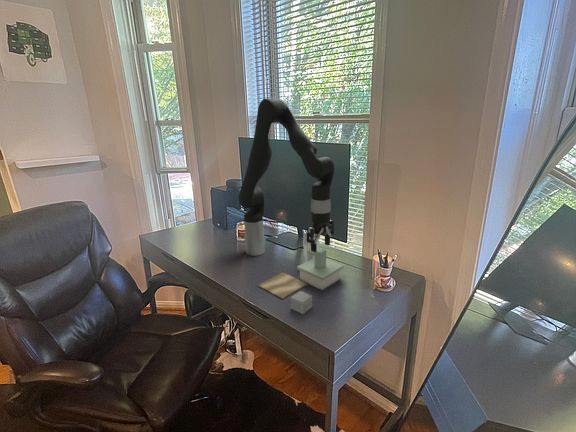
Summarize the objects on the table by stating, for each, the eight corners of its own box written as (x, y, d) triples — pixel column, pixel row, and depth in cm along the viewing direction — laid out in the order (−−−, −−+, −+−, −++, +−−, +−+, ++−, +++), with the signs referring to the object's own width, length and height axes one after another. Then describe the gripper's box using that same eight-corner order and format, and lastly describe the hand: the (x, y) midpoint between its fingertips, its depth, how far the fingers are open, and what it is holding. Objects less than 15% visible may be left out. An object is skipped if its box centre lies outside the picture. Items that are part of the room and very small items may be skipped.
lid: (296, 269, 130) (296, 251, 128) (318, 258, 140) (318, 241, 137) (322, 280, 121) (323, 261, 119) (343, 268, 130) (344, 250, 128)
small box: (300, 301, 117) (300, 290, 116) (312, 307, 114) (312, 295, 112) (290, 308, 113) (290, 296, 112) (302, 315, 110) (302, 302, 108)
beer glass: (321, 263, 145) (321, 233, 140) (314, 270, 140) (314, 238, 135) (307, 260, 149) (307, 231, 144) (300, 266, 143) (300, 236, 138)
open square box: (299, 279, 132) (299, 269, 130) (318, 269, 140) (318, 259, 138) (322, 290, 124) (322, 279, 122) (340, 278, 132) (340, 268, 130)
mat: (258, 286, 128) (258, 284, 128) (283, 273, 137) (283, 272, 137) (282, 299, 119) (282, 297, 118) (307, 284, 128) (307, 283, 128)
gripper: (324, 204, 130) (324, 240, 135) (301, 212, 120) (301, 251, 125) (339, 207, 125) (338, 245, 130) (316, 216, 115) (316, 256, 120)
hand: (320, 248), depth 127 cm, fingers open, 8 cm apart
